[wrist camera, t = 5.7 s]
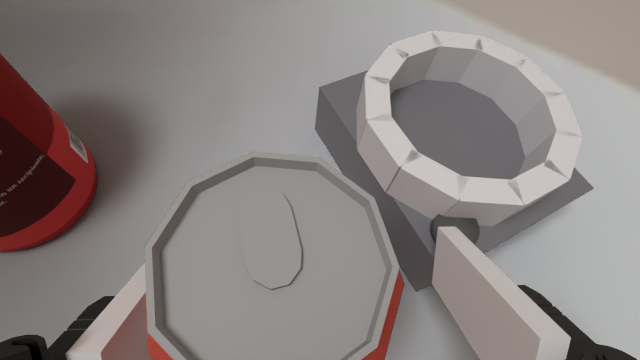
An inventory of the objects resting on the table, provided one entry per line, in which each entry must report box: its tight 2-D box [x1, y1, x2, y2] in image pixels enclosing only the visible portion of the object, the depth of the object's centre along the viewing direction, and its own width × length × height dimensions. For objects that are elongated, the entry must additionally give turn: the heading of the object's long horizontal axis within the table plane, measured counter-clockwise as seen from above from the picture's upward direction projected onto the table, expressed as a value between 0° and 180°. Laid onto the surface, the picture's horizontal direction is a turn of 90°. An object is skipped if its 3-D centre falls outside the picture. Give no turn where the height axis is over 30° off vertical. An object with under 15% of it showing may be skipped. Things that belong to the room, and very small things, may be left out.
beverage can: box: [144, 152, 404, 360], centre depth 12 cm, size 6×6×12 cm
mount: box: [315, 31, 594, 292], centre depth 20 cm, size 12×10×6 cm
